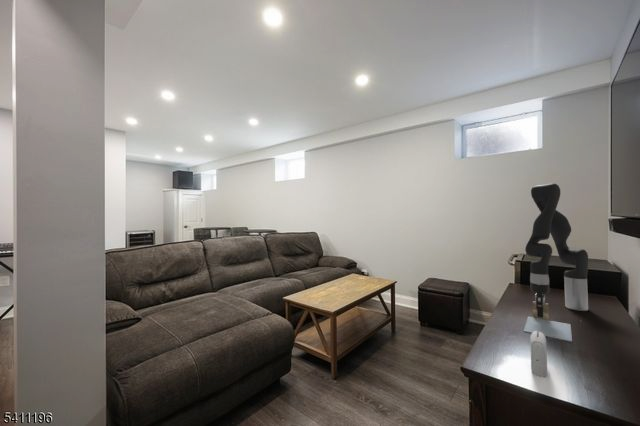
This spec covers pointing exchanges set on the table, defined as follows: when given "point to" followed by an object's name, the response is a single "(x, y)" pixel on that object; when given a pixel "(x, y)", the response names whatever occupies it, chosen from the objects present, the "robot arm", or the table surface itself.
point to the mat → (549, 328)
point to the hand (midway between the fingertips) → (540, 314)
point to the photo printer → (538, 353)
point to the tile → (545, 311)
